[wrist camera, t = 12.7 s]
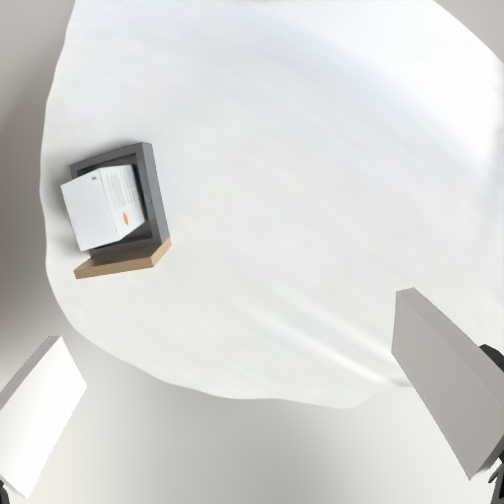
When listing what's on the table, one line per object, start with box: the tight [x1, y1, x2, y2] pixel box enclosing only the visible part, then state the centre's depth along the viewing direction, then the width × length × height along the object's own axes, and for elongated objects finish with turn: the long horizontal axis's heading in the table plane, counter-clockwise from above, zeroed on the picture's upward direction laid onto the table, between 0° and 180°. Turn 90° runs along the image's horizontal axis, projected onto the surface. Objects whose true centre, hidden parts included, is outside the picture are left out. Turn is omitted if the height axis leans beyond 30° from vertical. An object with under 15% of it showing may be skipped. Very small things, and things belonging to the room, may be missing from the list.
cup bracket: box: [70, 143, 172, 279], centre depth 34 cm, size 11×14×9 cm
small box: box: [60, 164, 148, 251], centre depth 32 cm, size 8×6×10 cm
